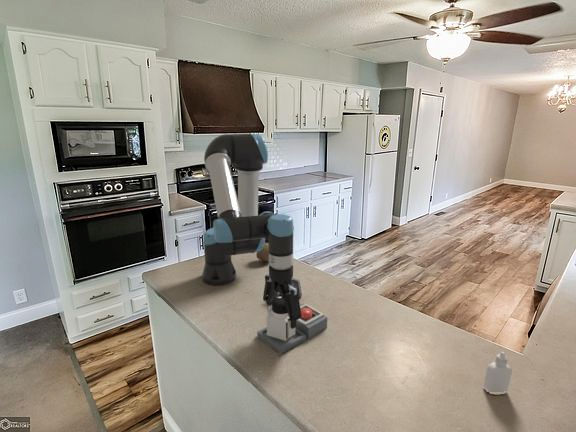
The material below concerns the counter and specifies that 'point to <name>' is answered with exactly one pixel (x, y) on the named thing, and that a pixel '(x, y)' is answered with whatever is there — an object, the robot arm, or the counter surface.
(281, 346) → the console
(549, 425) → the counter surface
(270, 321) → the medicine bottle
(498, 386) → the eye dropper bottle
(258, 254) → the natural sponge
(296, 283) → the electrical switch
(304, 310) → the button
